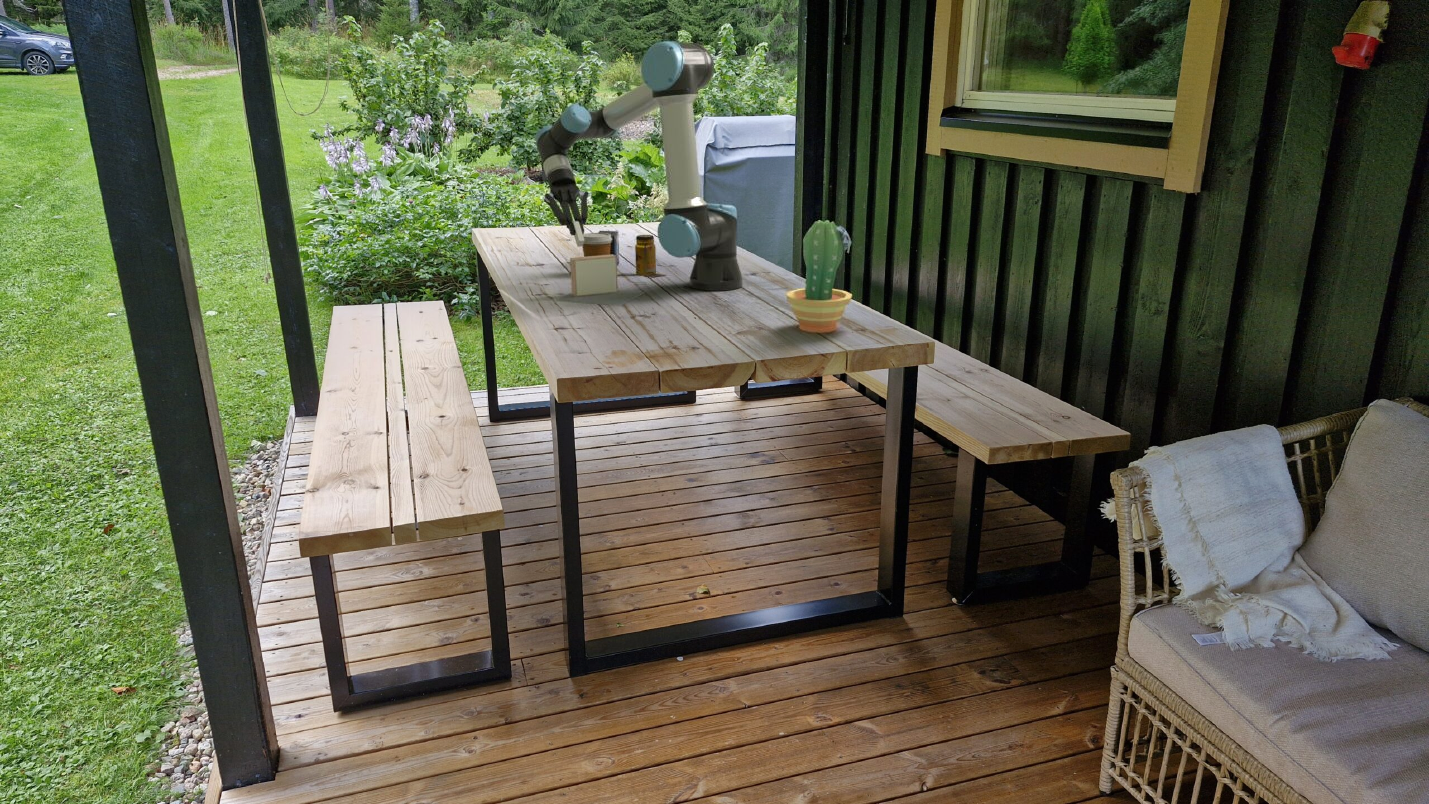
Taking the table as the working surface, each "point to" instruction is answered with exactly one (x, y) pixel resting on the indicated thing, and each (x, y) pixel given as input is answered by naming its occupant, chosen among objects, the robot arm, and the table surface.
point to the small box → (613, 243)
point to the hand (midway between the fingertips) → (580, 243)
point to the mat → (604, 298)
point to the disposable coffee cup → (596, 244)
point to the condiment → (646, 256)
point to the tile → (594, 275)
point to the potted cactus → (821, 279)
